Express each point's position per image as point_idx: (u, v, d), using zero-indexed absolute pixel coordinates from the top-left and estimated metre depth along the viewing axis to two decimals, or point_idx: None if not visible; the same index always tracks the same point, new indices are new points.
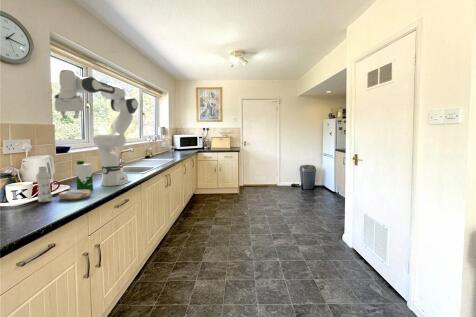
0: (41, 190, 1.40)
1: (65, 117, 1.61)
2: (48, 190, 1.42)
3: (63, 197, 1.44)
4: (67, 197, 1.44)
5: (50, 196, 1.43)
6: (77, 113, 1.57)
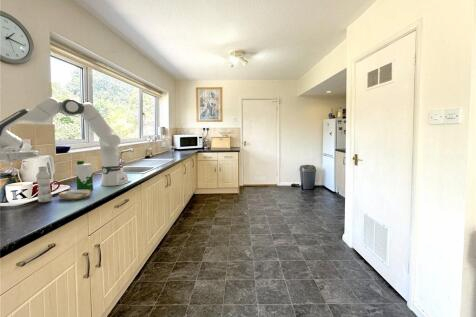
0: (41, 190, 1.40)
1: (33, 154, 1.48)
2: (48, 190, 1.42)
3: (63, 197, 1.44)
4: (67, 197, 1.44)
5: (50, 196, 1.43)
6: (10, 156, 1.39)
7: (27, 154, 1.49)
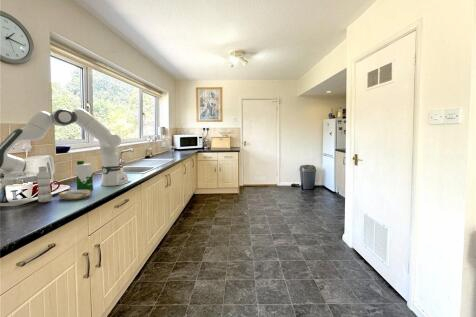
0: (41, 190, 1.40)
1: None
2: (48, 190, 1.42)
3: (63, 197, 1.44)
4: (67, 197, 1.44)
5: (50, 196, 1.43)
6: (17, 182, 1.40)
7: (33, 178, 1.50)
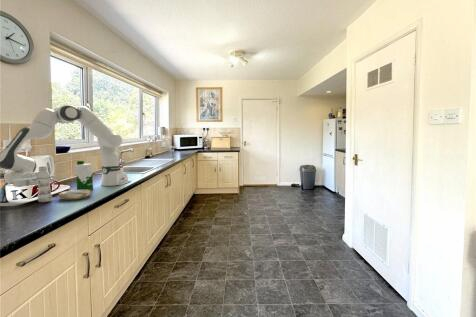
0: (41, 190, 1.40)
1: None
2: (48, 190, 1.42)
3: (63, 197, 1.44)
4: (67, 197, 1.44)
5: (50, 196, 1.43)
6: (30, 182, 1.37)
7: None
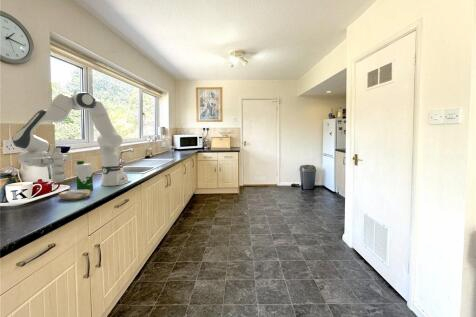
0: (55, 170, 1.43)
1: None
2: (61, 170, 1.45)
3: (63, 197, 1.44)
4: (67, 197, 1.44)
5: (63, 176, 1.46)
6: (45, 161, 1.41)
7: None
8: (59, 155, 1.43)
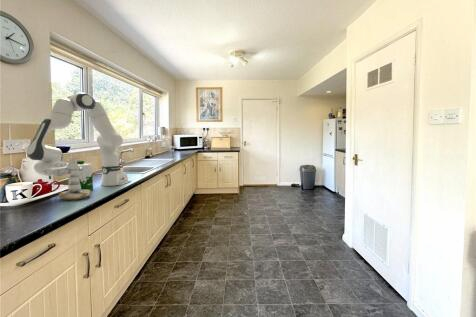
0: (72, 181, 1.49)
1: (80, 169, 1.54)
2: (78, 181, 1.51)
3: (63, 197, 1.44)
4: (67, 197, 1.44)
5: (79, 186, 1.51)
6: (60, 171, 1.45)
7: None
8: (75, 166, 1.49)
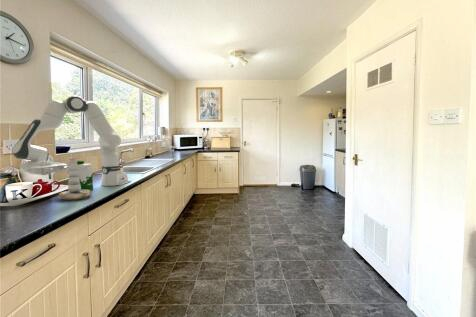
0: (72, 181, 1.49)
1: (64, 168, 1.58)
2: (78, 181, 1.51)
3: (63, 197, 1.44)
4: (67, 197, 1.44)
5: (79, 186, 1.51)
6: (44, 170, 1.49)
7: (58, 167, 1.59)
8: (75, 166, 1.49)
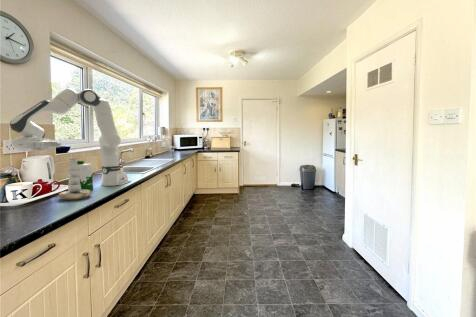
0: (72, 181, 1.49)
1: (57, 144, 1.55)
2: (78, 181, 1.51)
3: (63, 197, 1.44)
4: (67, 197, 1.44)
5: (79, 186, 1.51)
6: (36, 144, 1.46)
7: (51, 143, 1.56)
8: (75, 166, 1.49)
